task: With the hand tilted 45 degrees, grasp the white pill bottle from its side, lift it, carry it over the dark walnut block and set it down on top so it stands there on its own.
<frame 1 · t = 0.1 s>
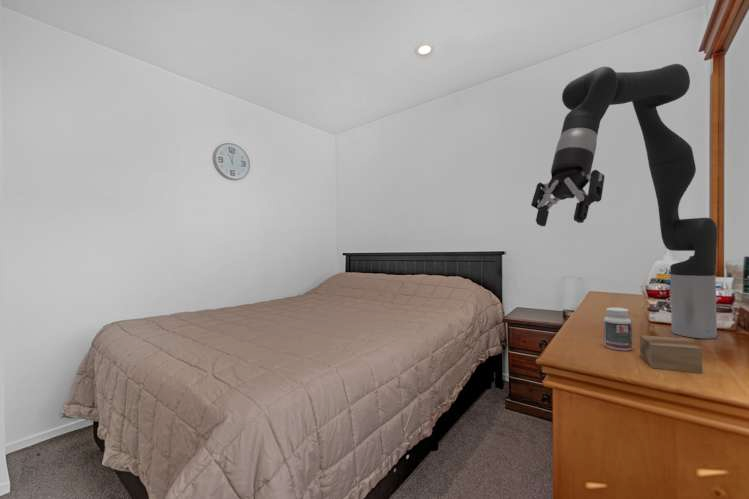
hand: (558, 223, 69), 31 cm above the table, tool tilted 20°, fingers open, 8 cm apart
pill bottle: (618, 348, 83), on the table
walnut block: (669, 364, 71), on the table
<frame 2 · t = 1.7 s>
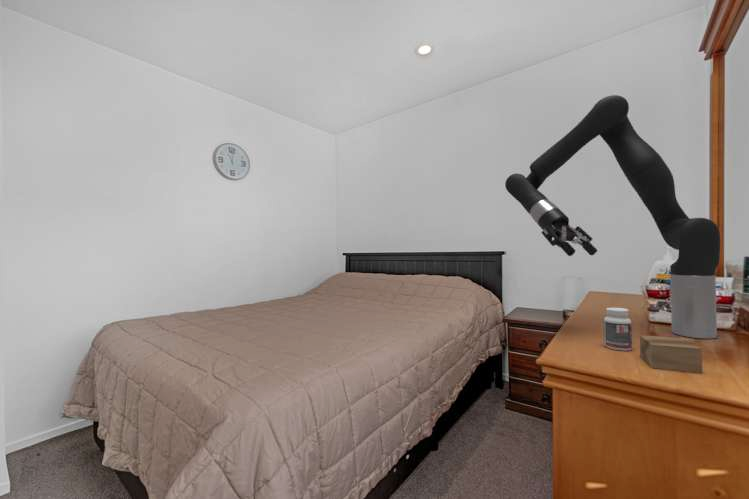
hand: (583, 253, 91), 24 cm above the table, tool tilted 45°, fingers open, 8 cm apart
nothing on the table moved.
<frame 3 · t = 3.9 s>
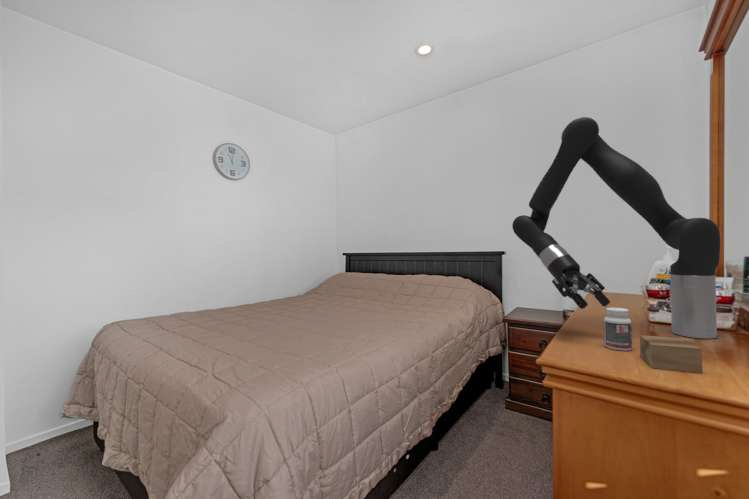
hand: (596, 305, 88), 10 cm above the table, tool tilted 45°, fingers open, 8 cm apart
nothing on the table moved.
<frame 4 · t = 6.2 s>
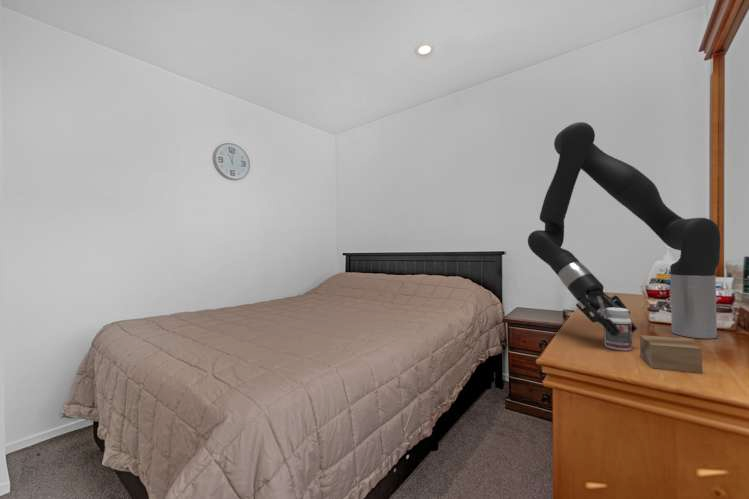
hand: (625, 332, 81), 4 cm above the table, tool tilted 45°, fingers closed on pill bottle, 5 cm apart
pill bottle: (618, 348, 83), on the table, touching gripper
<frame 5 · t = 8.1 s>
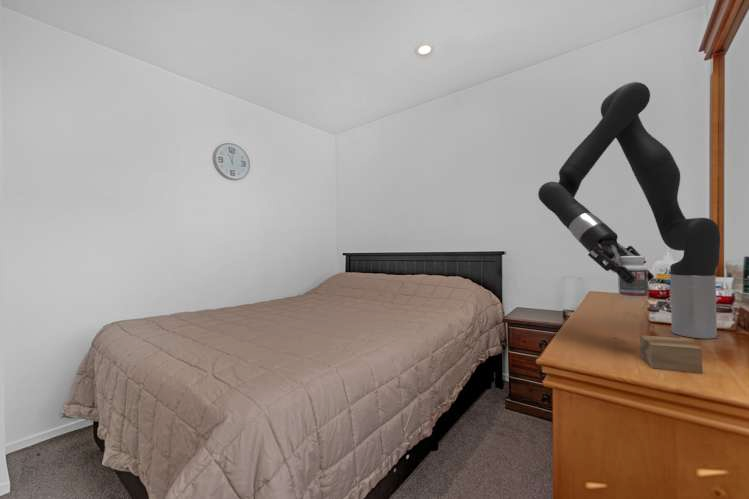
hand: (641, 280, 77), 18 cm above the table, tool tilted 45°, fingers closed on pill bottle, 5 cm apart
pill bottle: (633, 298, 78), point 13 cm above the table, touching gripper
when the fingers open (10 cm above the table, at t = 10.5 s): pill bottle stays where it is, resting on walnut block.
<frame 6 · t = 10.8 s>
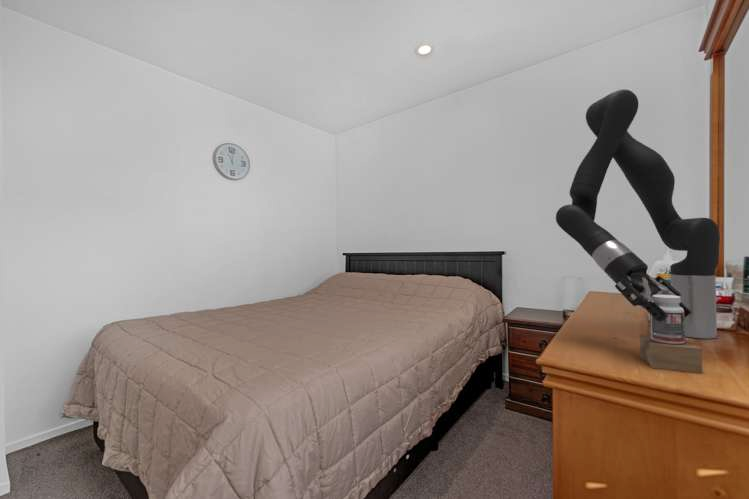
hand: (675, 317, 70), 11 cm above the table, tool tilted 45°, fingers open, 7 cm apart
pill bottle: (667, 342, 71), point 5 cm above the table, touching walnut block
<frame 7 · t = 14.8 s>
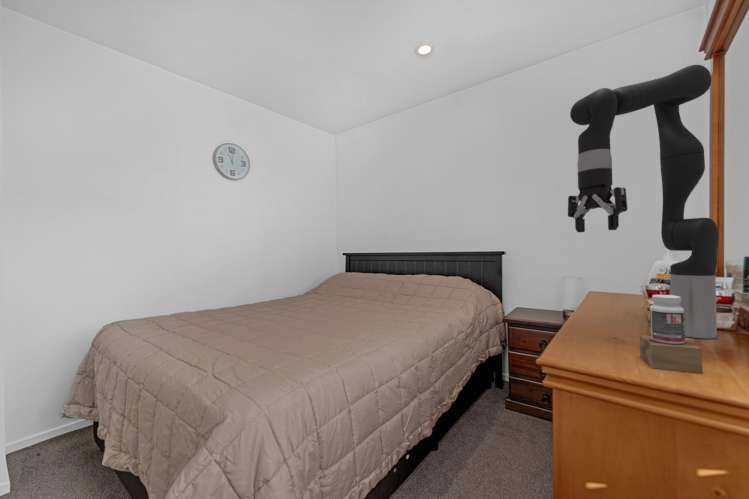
hand: (595, 231, 85), 30 cm above the table, tool pointing down, fingers open, 8 cm apart
nothing on the table moved.
at the end: pill bottle inside the target area on the walnut block (0.2 cm from its centre), point 4.8 cm above the walnut block's base; pill bottle tilted 0°; the gripper is holding nothing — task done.
